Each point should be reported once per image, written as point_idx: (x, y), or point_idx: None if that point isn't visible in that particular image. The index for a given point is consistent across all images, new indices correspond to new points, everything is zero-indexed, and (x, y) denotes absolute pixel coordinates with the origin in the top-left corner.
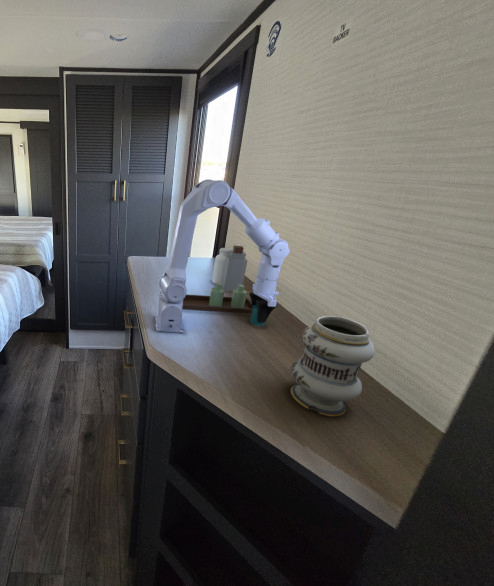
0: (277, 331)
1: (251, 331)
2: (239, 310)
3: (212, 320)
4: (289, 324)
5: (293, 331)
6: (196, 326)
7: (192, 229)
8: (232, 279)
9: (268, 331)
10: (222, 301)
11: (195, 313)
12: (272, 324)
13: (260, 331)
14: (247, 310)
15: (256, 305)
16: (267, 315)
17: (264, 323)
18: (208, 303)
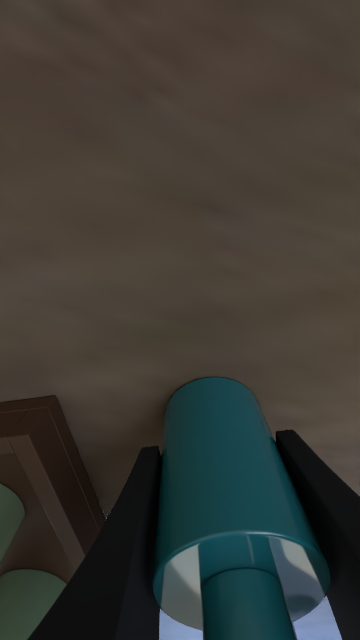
0: (292, 306)
1: (316, 454)
2: (81, 524)
3: None
4: (114, 161)
5: (268, 164)
6: (297, 622)
7: None
8: None
9: (302, 366)
10: (17, 621)
11: (160, 625)
12: (169, 316)
13: (309, 411)
14: (63, 491)
15: (184, 611)
16: (347, 498)
17: (255, 408)
18: None
